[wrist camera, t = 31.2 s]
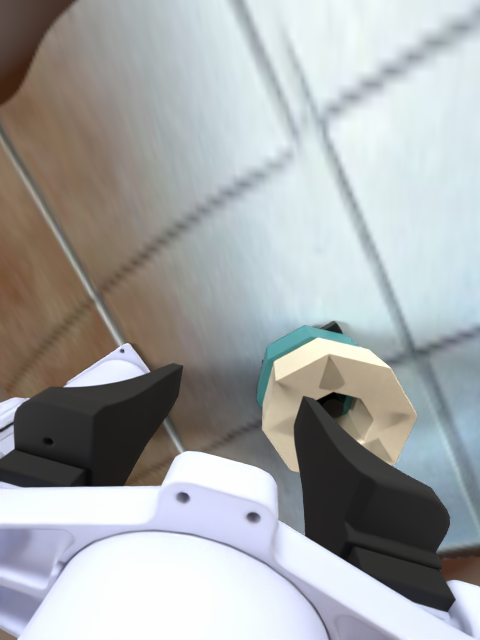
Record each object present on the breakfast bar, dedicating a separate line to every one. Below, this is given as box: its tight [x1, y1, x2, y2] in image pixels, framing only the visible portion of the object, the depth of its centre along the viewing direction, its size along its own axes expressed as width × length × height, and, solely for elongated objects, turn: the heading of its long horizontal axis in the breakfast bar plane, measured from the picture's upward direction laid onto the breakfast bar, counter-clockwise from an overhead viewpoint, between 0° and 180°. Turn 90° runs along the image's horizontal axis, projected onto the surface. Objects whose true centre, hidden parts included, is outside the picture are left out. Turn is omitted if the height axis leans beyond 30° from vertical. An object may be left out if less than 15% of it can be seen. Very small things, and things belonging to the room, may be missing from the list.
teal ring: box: [257, 325, 360, 419], centre depth 21 cm, size 10×10×3 cm
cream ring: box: [262, 338, 418, 473], centre depth 18 cm, size 10×10×3 cm
